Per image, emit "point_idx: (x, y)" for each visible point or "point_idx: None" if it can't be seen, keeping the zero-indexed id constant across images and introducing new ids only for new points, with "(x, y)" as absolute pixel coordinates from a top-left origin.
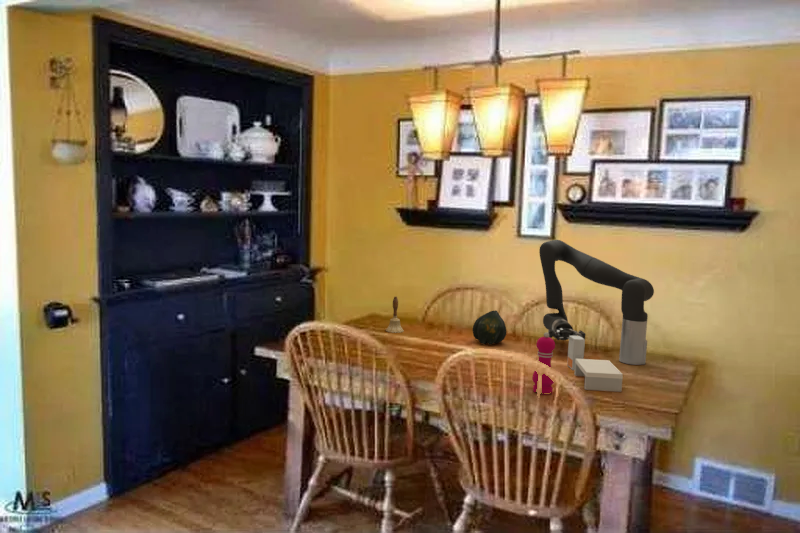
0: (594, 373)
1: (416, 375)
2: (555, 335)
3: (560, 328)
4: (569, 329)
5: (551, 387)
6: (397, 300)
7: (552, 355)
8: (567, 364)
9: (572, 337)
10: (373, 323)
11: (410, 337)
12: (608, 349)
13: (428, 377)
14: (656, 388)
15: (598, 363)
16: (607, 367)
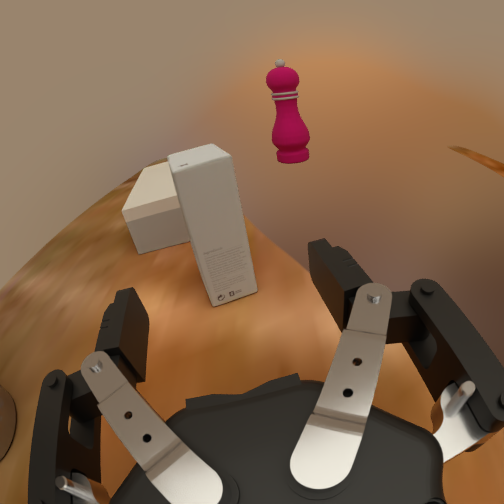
0: None
1: (473, 153)
2: (352, 262)
3: (361, 430)
4: (189, 449)
5: (278, 151)
6: None
7: (272, 97)
8: (255, 283)
9: (218, 148)
10: None
11: None
12: None
13: (458, 152)
14: (77, 236)
15: (166, 183)
16: (156, 176)
